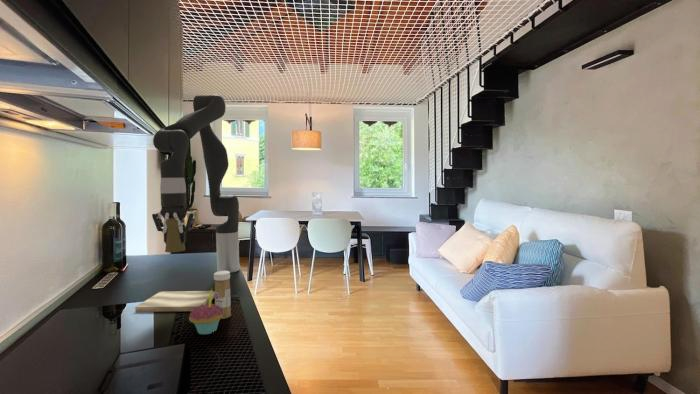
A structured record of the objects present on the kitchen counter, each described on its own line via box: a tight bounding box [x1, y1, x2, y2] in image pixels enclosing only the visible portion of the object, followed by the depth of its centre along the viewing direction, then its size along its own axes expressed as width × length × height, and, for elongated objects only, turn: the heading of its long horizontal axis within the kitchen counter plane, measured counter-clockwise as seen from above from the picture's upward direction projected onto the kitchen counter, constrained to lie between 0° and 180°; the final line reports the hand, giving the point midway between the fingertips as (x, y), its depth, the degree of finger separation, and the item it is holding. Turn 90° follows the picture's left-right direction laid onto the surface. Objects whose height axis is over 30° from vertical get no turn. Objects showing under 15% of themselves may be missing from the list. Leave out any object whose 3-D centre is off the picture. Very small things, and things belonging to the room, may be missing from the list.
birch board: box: [134, 290, 215, 313], centre depth 122 cm, size 15×20×2 cm
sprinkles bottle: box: [213, 271, 232, 320], centre depth 109 cm, size 5×5×13 cm
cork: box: [164, 218, 186, 253], centre depth 121 cm, size 6×6×11 cm
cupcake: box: [188, 288, 223, 335], centre depth 99 cm, size 9×8×12 cm
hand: (175, 243), depth 121 cm, fingers closed on cork, 4 cm apart
